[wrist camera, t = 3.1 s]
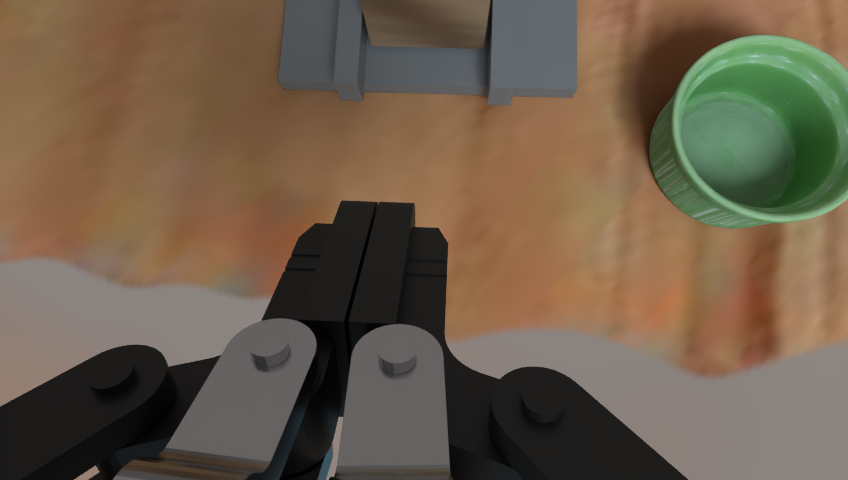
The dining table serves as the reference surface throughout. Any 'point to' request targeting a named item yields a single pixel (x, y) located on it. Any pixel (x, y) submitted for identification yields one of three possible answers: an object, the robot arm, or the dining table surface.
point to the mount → (432, 54)
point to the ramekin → (755, 134)
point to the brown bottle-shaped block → (427, 23)
